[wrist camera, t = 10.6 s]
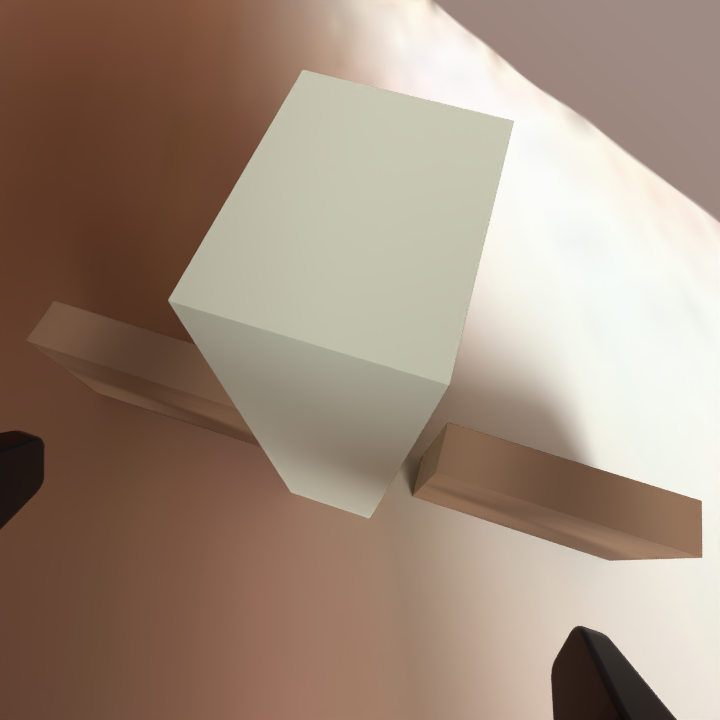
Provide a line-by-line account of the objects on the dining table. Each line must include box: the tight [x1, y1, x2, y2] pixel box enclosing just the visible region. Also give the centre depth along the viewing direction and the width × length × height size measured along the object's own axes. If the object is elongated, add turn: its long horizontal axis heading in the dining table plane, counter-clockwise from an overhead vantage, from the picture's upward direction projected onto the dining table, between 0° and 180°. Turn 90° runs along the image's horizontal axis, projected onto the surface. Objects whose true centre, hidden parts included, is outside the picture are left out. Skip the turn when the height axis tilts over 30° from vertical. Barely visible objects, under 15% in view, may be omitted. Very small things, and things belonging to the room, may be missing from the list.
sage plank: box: [168, 70, 514, 519], centre depth 11 cm, size 4×3×13 cm
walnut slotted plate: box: [26, 301, 702, 560], centre depth 15 cm, size 20×2×4 cm, turn 73°
